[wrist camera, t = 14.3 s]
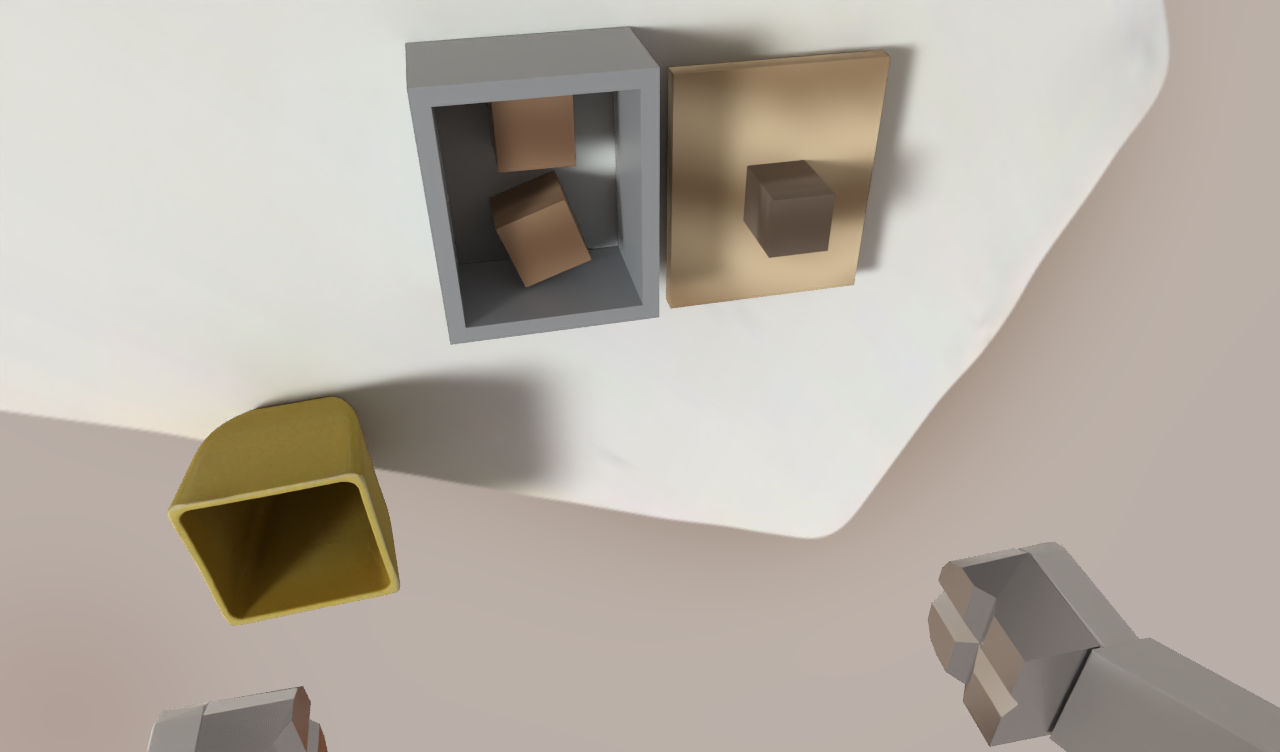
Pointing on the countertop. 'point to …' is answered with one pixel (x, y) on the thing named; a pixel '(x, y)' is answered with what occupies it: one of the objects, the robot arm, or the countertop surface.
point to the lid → (769, 174)
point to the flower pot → (286, 513)
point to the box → (629, 272)
